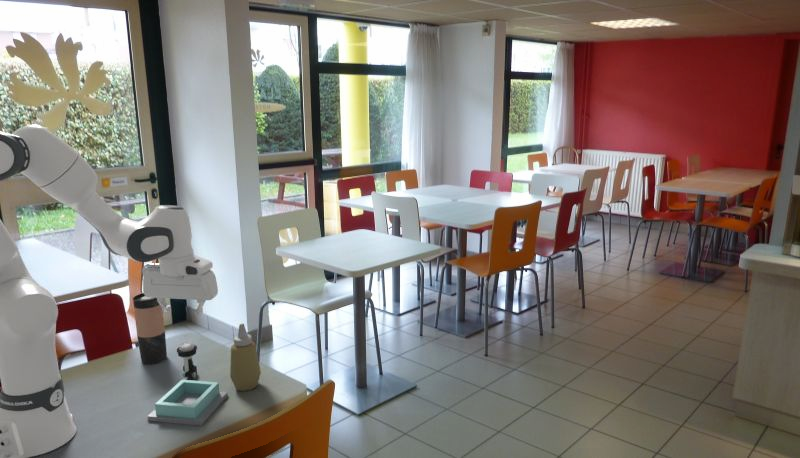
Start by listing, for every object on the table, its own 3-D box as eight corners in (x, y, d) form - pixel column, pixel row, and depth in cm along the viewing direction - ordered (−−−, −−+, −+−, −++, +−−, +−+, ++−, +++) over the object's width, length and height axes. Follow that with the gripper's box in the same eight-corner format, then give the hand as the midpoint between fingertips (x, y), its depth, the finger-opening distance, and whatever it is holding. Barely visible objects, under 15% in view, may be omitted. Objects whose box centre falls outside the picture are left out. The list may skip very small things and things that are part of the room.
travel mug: (172, 353, 177) (165, 292, 172) (159, 365, 170) (152, 301, 165) (148, 353, 178) (141, 291, 173) (135, 364, 170) (127, 300, 166)
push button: (194, 385, 158) (190, 351, 156) (174, 385, 158) (171, 351, 156) (202, 373, 164) (199, 341, 162) (184, 373, 164) (180, 341, 162)
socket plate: (148, 420, 141) (146, 405, 140) (178, 391, 154) (177, 377, 153) (201, 425, 139) (199, 409, 138) (227, 396, 152) (226, 381, 151)
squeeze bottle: (243, 396, 152) (238, 333, 147) (224, 387, 156) (219, 325, 152) (267, 384, 158) (263, 323, 154) (248, 376, 163) (244, 316, 158)
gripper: (134, 266, 152) (141, 315, 156) (206, 269, 149) (211, 319, 152) (148, 259, 158) (154, 307, 162) (217, 262, 155) (222, 310, 158)
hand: (182, 313), depth 157 cm, fingers open, 8 cm apart
